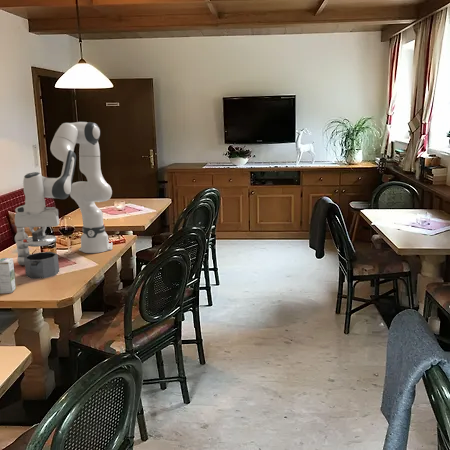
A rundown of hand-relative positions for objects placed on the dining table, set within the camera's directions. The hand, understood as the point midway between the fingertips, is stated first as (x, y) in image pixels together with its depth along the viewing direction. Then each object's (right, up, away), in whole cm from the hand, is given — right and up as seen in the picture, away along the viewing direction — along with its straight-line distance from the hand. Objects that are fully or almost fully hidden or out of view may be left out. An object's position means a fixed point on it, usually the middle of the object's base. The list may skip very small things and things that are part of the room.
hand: (38, 235), depth 243 cm
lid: (0, -4, +1) cm, 4 cm away
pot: (0, -19, +4) cm, 19 cm away
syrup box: (-7, -24, -19) cm, 32 cm away
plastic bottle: (-14, -16, +20) cm, 29 cm away
